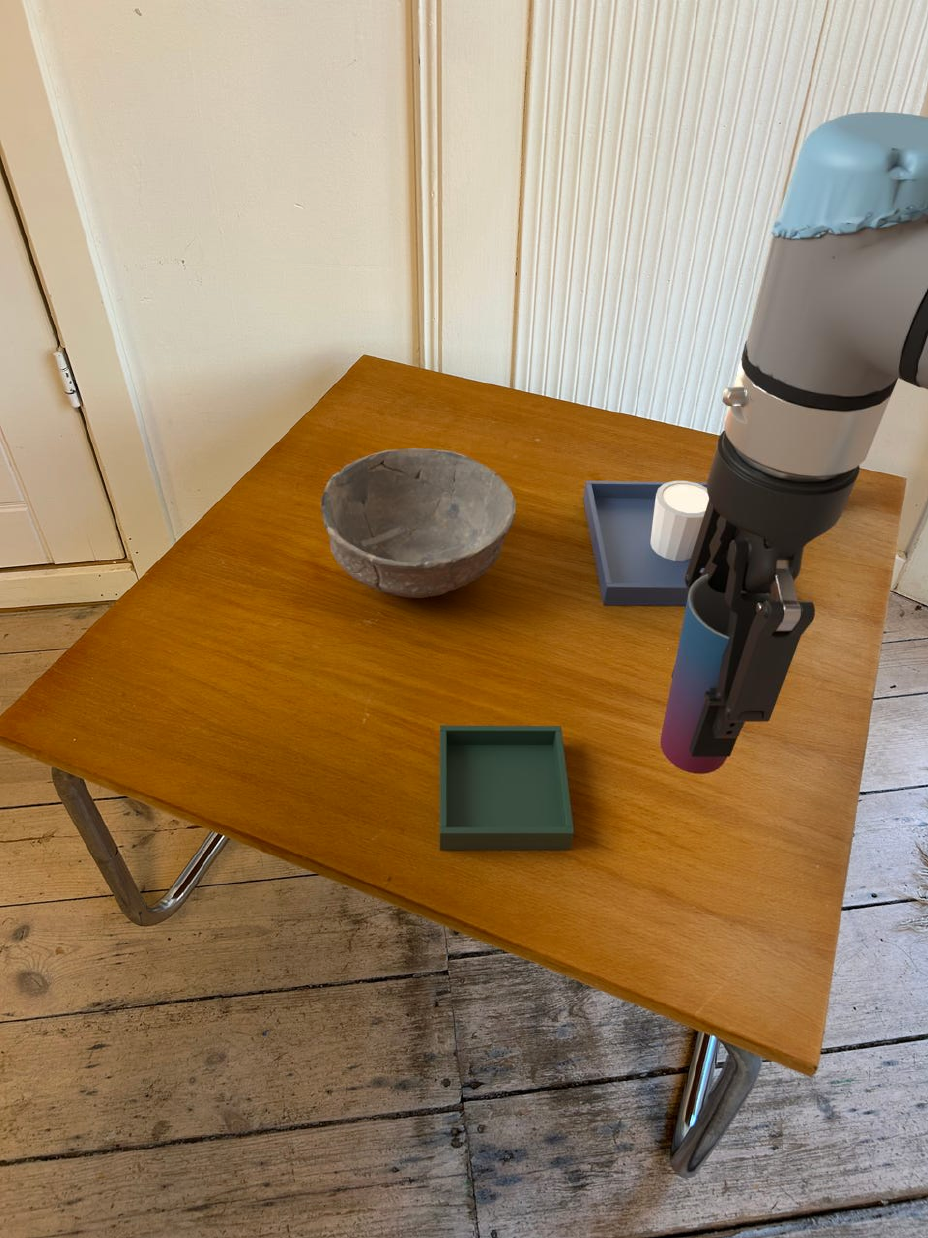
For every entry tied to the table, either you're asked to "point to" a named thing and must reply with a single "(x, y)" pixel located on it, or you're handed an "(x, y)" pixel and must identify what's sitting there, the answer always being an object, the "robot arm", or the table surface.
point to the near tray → (504, 789)
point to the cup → (695, 675)
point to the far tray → (631, 546)
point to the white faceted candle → (678, 519)
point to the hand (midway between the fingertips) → (699, 714)
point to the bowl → (416, 520)
